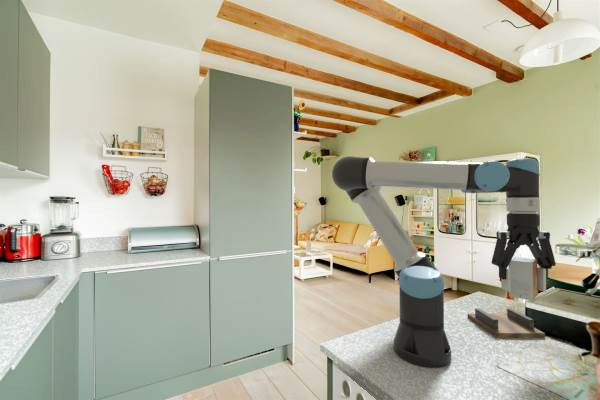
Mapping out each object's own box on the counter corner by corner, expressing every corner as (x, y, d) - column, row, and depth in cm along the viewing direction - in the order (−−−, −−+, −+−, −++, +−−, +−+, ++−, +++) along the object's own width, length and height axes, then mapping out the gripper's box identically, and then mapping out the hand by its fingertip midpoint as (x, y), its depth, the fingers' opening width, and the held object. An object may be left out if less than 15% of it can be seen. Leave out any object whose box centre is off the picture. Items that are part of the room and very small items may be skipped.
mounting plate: (496, 337, 90) (496, 323, 90) (467, 317, 106) (467, 305, 106) (544, 337, 90) (544, 323, 90) (508, 317, 106) (508, 305, 106)
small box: (533, 301, 77) (532, 262, 78) (508, 296, 82) (508, 259, 82) (538, 295, 83) (538, 258, 83) (514, 290, 87) (514, 256, 87)
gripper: (493, 213, 79) (493, 294, 79) (573, 213, 79) (574, 294, 78) (476, 212, 86) (477, 286, 86) (549, 212, 86) (550, 286, 86)
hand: (523, 290), depth 82 cm, fingers closed on small box, 9 cm apart
